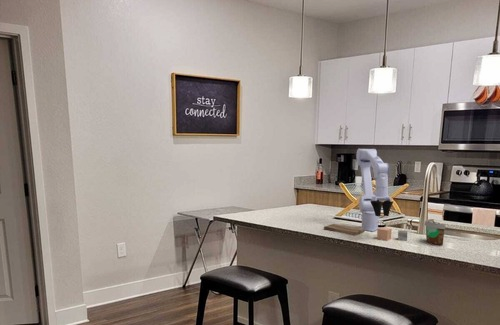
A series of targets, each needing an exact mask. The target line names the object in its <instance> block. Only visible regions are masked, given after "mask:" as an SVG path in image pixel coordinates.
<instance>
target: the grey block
mask: <svg viewBox="0 0 500 325" xmlns="http://www.w3.org/2000/svg"><path fill="white" fill-rule="evenodd" d="M397 240H398V241H403V242H407V241H408V230H399V229H398V230H397Z"/></svg>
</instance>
